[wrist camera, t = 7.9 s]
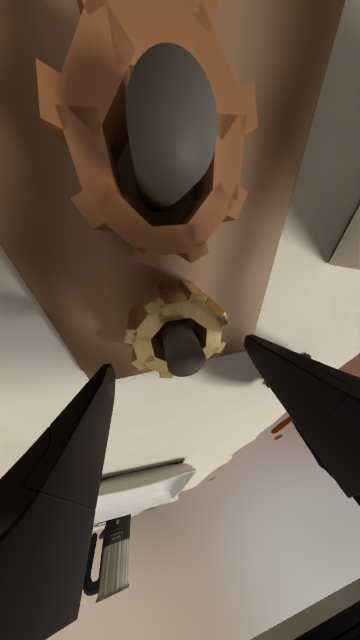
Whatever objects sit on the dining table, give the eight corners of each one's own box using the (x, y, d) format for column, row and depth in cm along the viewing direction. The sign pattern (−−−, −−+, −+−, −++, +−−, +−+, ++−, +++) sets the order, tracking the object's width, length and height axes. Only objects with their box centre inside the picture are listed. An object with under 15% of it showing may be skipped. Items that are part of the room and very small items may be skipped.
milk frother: (127, 508, 53) (122, 592, 40) (139, 512, 61) (138, 582, 49) (88, 522, 51) (70, 614, 39) (106, 524, 60) (96, 600, 47)
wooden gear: (214, 274, 11) (234, 286, 9) (209, 344, 15) (222, 366, 13) (117, 287, 10) (109, 304, 8) (140, 358, 14) (139, 385, 12)
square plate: (85, 507, 42) (80, 530, 39) (77, 476, 30) (69, 506, 27) (171, 484, 51) (173, 502, 47) (194, 452, 38) (199, 473, 35)
